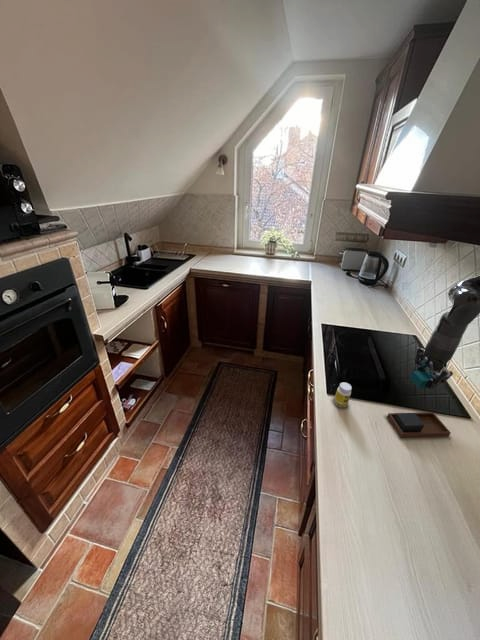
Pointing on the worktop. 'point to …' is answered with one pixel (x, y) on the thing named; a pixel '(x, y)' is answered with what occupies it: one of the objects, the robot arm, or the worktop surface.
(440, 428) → the pad frame
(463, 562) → the worktop surface
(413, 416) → the black block
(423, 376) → the teal pad
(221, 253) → the worktop surface
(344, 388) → the supplement bottle
